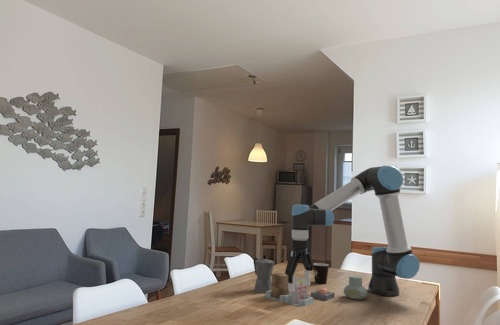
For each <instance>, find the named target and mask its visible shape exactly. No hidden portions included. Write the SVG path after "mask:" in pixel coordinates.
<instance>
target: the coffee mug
mask: <svg viewBox="0 0 500 325" xmlns="http://www.w3.org/2000/svg"><path fill="white" fill-rule="evenodd" d="M312 264H313V270H312V271H313V274H314V283H315V284H319V285H327V281H328V275H329V267H330V265H329V264H328V263H323V262H313V263H312Z"/></svg>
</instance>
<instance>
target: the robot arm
mask: <svg viewBox="0 0 500 325" xmlns="http://www.w3.org/2000/svg"><path fill="white" fill-rule="evenodd" d="M403 183H404V177H403V173H402V172H401V171H400V169H398V167H395V166H393V165H382V166H374V167H373V166H372V167H370V168H369V167H368V168H367V169H365V170H363V171H362V172H360V173H358V174H356V175H355V176H354V177H353V176H352V178H351V179H350V181H349V182H347V183H346V184H343V185H342V186H341V187H339V188H337V189H336V190H334V191H332V192H331V193H329V194H328V195H326V196H325V197H323V198H321V199H320V200H317V201H316V202H314V203H313V204H311V205H310V206H309V205H308V204H293V205H292V208H291V238H292V239H291V248H292V249H293V251H291V250H290V251H289V253H288V254H289V255H288V256H289V257H288V260H287V263H286V268H285V272H284V274H285V275H288V290H289V292H290V291H293V292H294V291H295V279H296V278H295V277H296V275H294V274H295V272H296V270H297V266H298V265H299V263H300V262H301V263H302V265H303V267H304V269H305V270H303V272H304V273H303V276H304V277H303V278H305V281H306V285H307V287H310V286H311V272H312V271H313V264H314V263H313V260H312V256H311V250H310V248H309V240H308V239H309V235H310V234H309V233H310V232H309V227H313V226H314V227H315V226H317V227H327V226H328V227H330V226H333V224H334V221H335V215H334V212H333V211H334V210H335V209H337V208H338V207H340V206H341V205H343V204H345V203H347V202H348V201H350V200H352V199H353V198H355V197H357V196H358V195H363V194H366V193H368V192H371V191H374V195H375V197H377V198H378V199H379V204H380V209H381V215H382V219H383V220H382V222H383V227H384V230H385V235H386V240H387V246H374V247H372V250H371V253H370V254H371V277H370V280H369V282H368V285H367V286H368V287H367V292H369V293H371V294H374V295H379V296H383V297H384V296H385V297H386V296H387V297H395V296H399V295H400V288H399V284H398V282H397V277H399V278H401V279H406V280H407V279H409V280H410V279H412V278H414V277H415V276H417V274H418V272H419V271H420V267H421V265H420V264H421V262H420V260H419V258H418V257H417V256H416V255H415V254H413V250H412V247H411V246H410V245H408V242H407V236H406V231H405V227H404V220H403V217H402V211H401V206H400V205H401V204H400V201H399V195H400V193H401V189H400V188H401V187H402V184H403Z"/></svg>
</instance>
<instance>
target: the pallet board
mask: <svg viewBox="0 0 500 325" xmlns="http://www.w3.org/2000/svg"><path fill="white" fill-rule="evenodd" d="M263 298H264V299H268V300H273V301H276V302H280V303H285V304H288V305H291V306H297V307H300V308H304V307H307V306H309V305H311V304H314V303H316V302H317V301H316V300H314V298H313V297H311V295H310V296H308V295H307V299H305V300H301V299H300V300H299V303H293V302H290V291H289V294H288V295H285V296H284V295H280V298H276V297H272V296H271V290H270V291H266V293H265V295H264V296H263Z"/></svg>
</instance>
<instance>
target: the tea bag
mask: <svg viewBox="0 0 500 325" xmlns="http://www.w3.org/2000/svg"><path fill="white" fill-rule="evenodd" d="M289 292H290V302H293V303H299V300H300V299H301V300H305V299H307V297H308V286H307V285H306V281H305V278H304V277H296V278H295V291H294V292H293V291H289Z"/></svg>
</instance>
